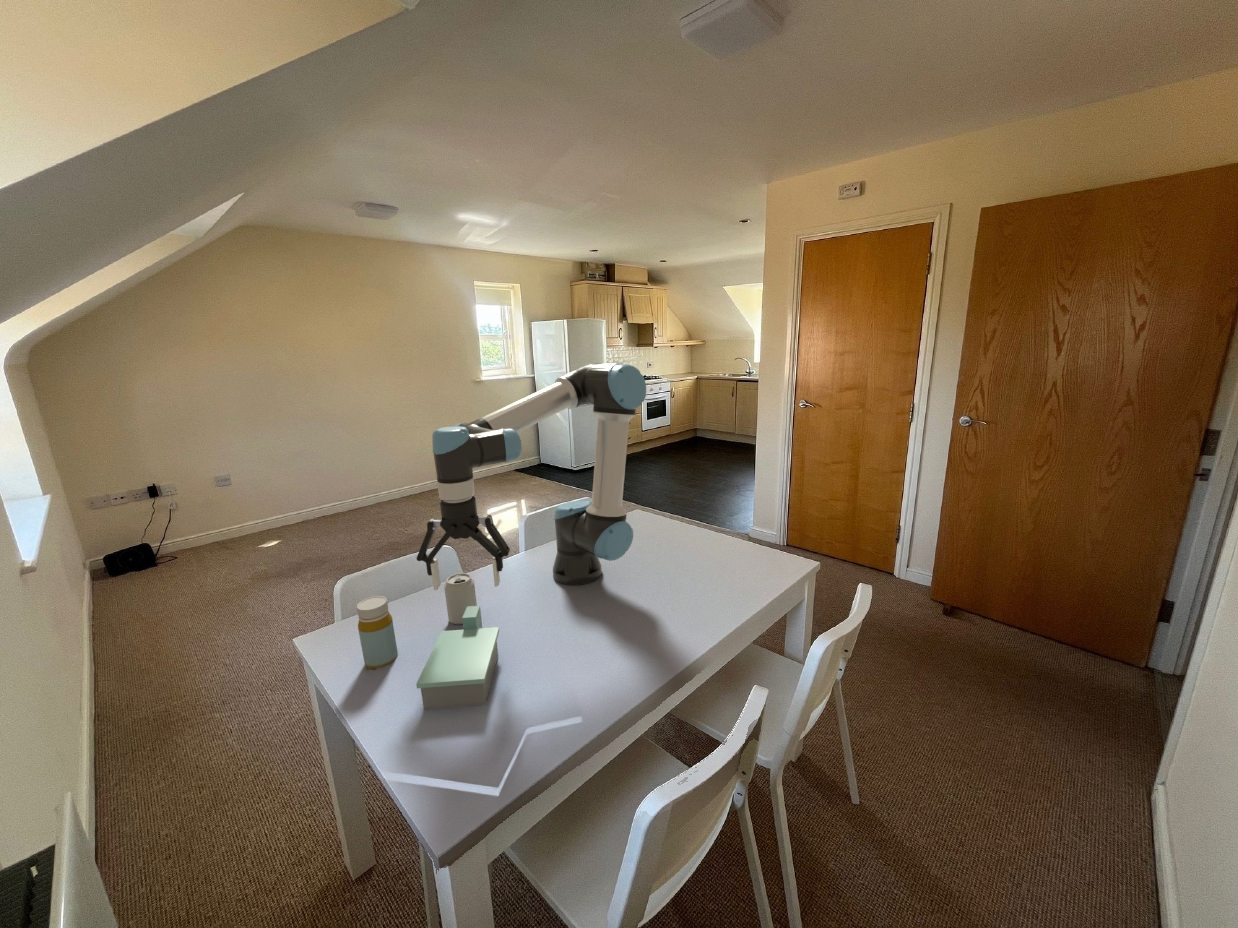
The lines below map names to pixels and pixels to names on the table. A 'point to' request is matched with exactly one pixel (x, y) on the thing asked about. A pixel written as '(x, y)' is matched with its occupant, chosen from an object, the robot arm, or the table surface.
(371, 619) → the bottle
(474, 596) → the can
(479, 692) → the tub
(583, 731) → the table surface
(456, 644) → the lid
